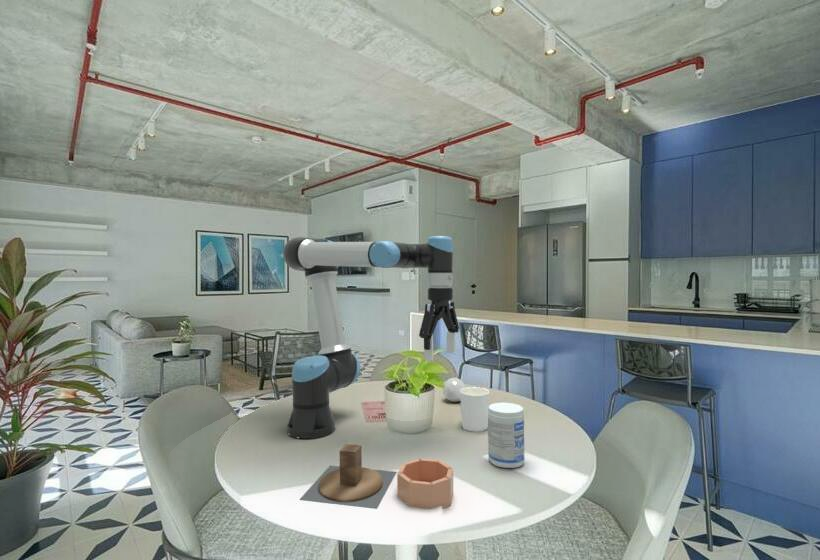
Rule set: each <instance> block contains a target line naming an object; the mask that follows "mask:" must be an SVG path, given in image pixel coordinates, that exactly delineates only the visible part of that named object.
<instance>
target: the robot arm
mask: <svg viewBox="0 0 820 560" xmlns="http://www.w3.org/2000/svg"><path fill="white" fill-rule="evenodd" d="M453 248H454V247H453V239H452V238H451V237H450V236H446V235H434V236H433V235H432V236H429V237H428V238H427V242H426V243H405V242H395V241H390V240H379V241H332V240H329V239H325V238H315V237H314V238H313V237H304V236H298V237H294V238H291V239H290V240H288V241H287V242H286V243H285V245H284V247H283V250H282V257H283V261H284V262H285V264H286V265H287V266H288V267H289V268H290V269H292V270H294V271H300V272H304V276H305V279H306V280H307V281H309V282H310V287H311V292H312V297H313V298H312V299H313V304H314V310H315V316H316V323H317V329H318V334H319V340H320V346H321V349H320V350H319V351H318V353H317V355H312V356H305V357H302V358H300V359H297V360H296V361H295V362H294V363H293V365H292V370H291V371H292V373H291V381H292V382H291V383H292V410H291V413H290V417H289V420H288V424H287V434H288V433H289V434H290V435H291V436H294V437H299V438H313V439H318V438H317V437H319V438H323V437H325V436H328V435H330V434H332V433H333V432H334V431H335V430H336V421H335V418H334V415H333V411H332V410H331V406H330V393H332V392H334V391H338V390H340V389H343V388H347V387H349V386H350V385H352V384H354V383H355V382H356V381H357V379H358V378H359V376H360V375H361V374H360V373H361V361H360V359H359V357H358V356H356V354H355V353H353V352H352V348H351V346H350V345H348V344H347V343H346V338H345V332H344V327H343V321H342V320H343V319H342V314H341V309H340V308H341V307H340V301H339V297H338V296H339V295H338V290H337V285H336V280H335V279H336V276H337V275H338V274H339V272H338V268H339V267H358V268H359V267H360V268H361V267H364V268H380V269H381V268H382V269H390V268H393V269H394V268H397V269H400V268H401V269H419V268H420V269H421V268H424V269H427V286H428V289H427V300H429V301H431V304H430V303H429V304H428V303H426V304H425V307H424V313H423V317H422V322H421V326H420V330H419V332H418V333H419V334H418V336H419V337H420V339H423V360H424V361H428V362H434V338H432V337H433V335H434V332H435V330H436V326H437V324H438V323H439V321H440V320H441V319H442V321H443V322H444V325H445V327H446V330H447V332H446V353H447V354H456V333H459V331H460V330H459V329H460V325H459V321H458V318H457V313H456V309H455V308H456V307H455V302H454V301H452V300H453V297H454V295H453V293H454V292H453V288H452V286H453V280H454V276H453V265H454V263H453V260H454V258H453V257H454V249H453ZM291 436H290V437H291ZM322 436H323V437H322ZM294 437H293V438H294Z"/></svg>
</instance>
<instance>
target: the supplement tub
mask: <svg viewBox="0 0 820 560" xmlns="http://www.w3.org/2000/svg"><path fill="white" fill-rule="evenodd" d="M487 431H488V433H487V435H488V437H487V438H488V439H487V441H488V443H487V444H488V445H487V446H488V449H487V450H488V460H489V461H490V463H491V464H493V465H494V466H496V467H499V468H501V469H502V468H503V469H516V468H519V467H521V466H522V465H523V464H525V413H524V407H523V406H522V405H520V404H517V403H512V402H494V403H491V404H489V408H488V428H487Z"/></svg>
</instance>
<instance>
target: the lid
mask: <svg viewBox="0 0 820 560" xmlns="http://www.w3.org/2000/svg"><path fill="white" fill-rule="evenodd" d="M362 459H363V458H362V445H361V444H349V443H345V444H344V446H342V448H340V450H339V466H340V469H338V470H335V471H332V472H330V473H328V474H327V475H325V476H324V477H323V478H322V479H321V480H320V482H319V492H320V493H321V495H322V496H324V497H325V498H327V499H330V500H333V501H339V502H353V501H359V500H363V499H366V498H369V497H371V496H373V495H375V494H376V493H377V492H379V491H380V489H381V488H382V485H383V478H382V476H381V475H380V474H379V473H378V472H377V471H375V470H376V469H373V470H372V468H369V467H363V466H362V465H363V462H362Z"/></svg>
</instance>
